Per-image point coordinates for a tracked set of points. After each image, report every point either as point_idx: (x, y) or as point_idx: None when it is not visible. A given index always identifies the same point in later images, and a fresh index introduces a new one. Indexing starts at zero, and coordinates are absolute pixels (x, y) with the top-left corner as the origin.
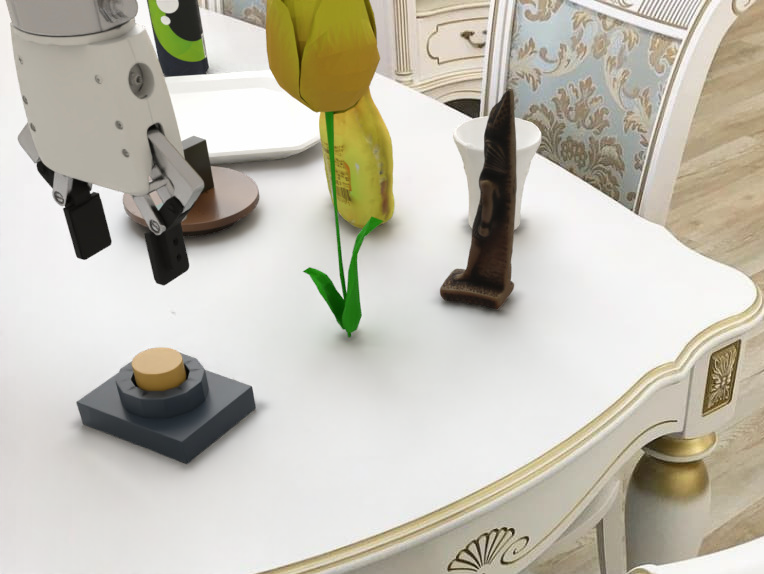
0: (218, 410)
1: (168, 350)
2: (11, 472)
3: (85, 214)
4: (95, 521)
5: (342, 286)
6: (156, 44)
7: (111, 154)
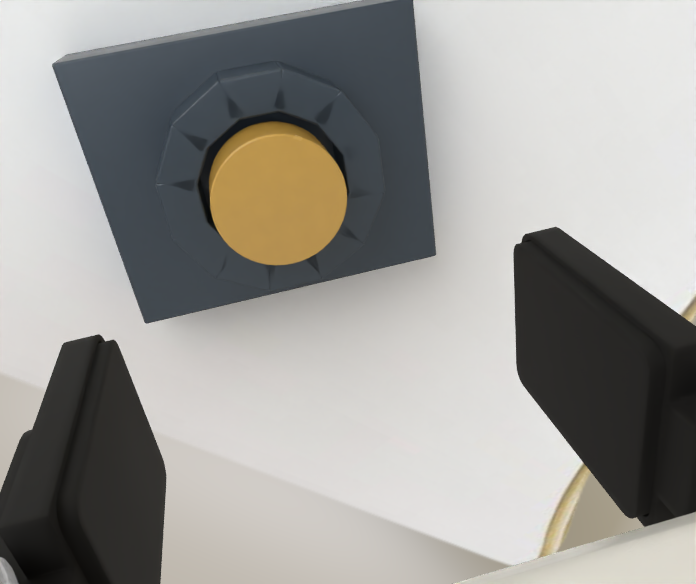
0: (419, 131)
1: (263, 151)
2: (192, 444)
3: (132, 568)
4: (406, 410)
5: None
6: None
7: None
